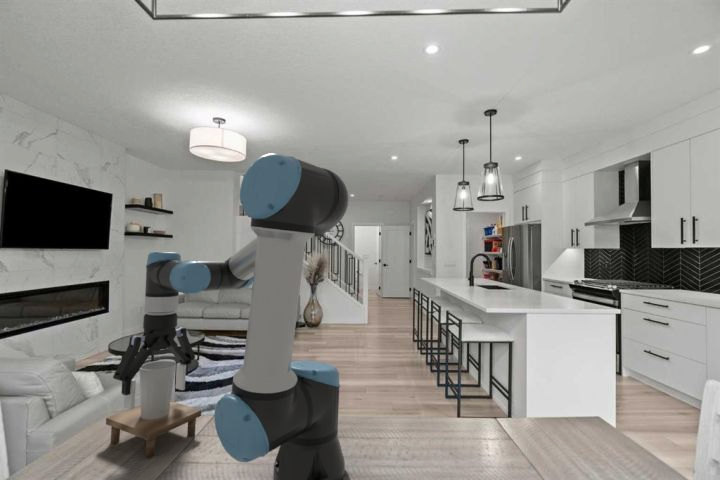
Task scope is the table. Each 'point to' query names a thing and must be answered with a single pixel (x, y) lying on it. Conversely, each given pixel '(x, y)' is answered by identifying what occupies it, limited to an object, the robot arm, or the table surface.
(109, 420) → the low wooden table
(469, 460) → the table surface
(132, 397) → the robot arm
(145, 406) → the cup
